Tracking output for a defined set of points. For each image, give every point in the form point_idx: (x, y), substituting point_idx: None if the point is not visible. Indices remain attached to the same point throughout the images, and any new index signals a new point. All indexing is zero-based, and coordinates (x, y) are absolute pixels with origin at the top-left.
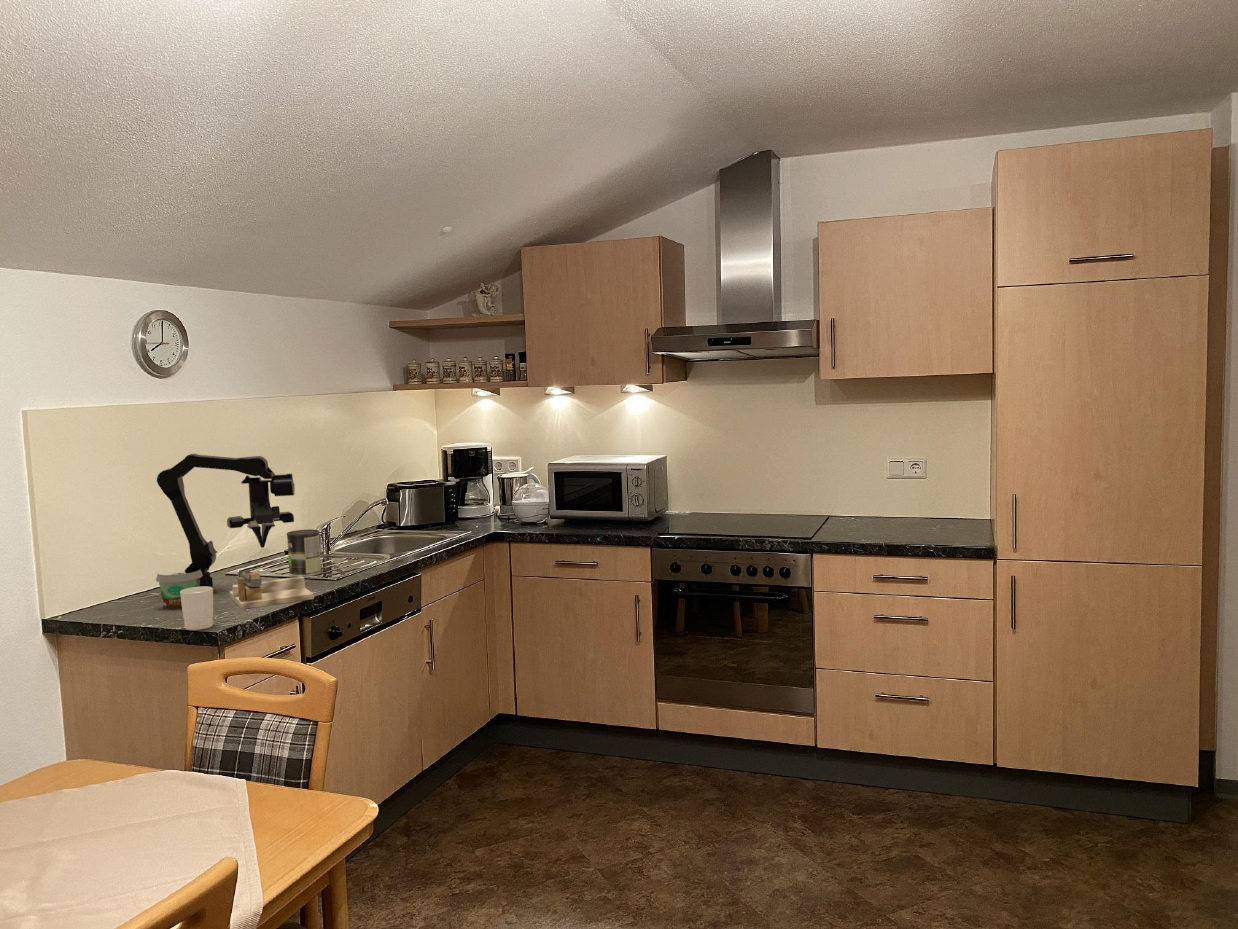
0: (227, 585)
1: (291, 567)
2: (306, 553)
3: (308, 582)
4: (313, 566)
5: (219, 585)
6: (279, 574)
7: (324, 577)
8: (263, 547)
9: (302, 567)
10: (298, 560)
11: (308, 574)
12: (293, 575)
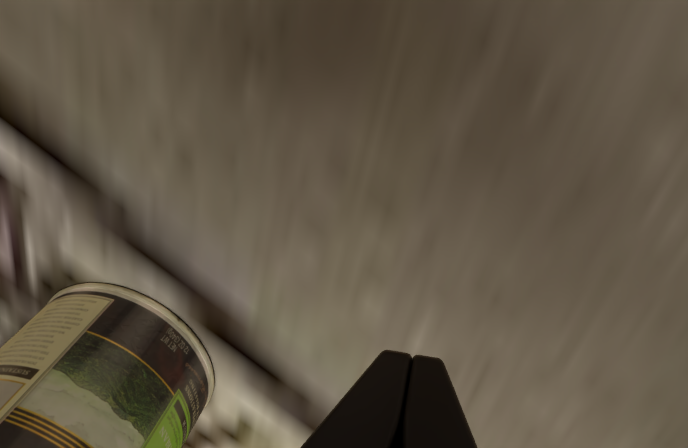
0: (622, 401)
1: (176, 390)
2: (3, 403)
3: (110, 95)
4: (40, 322)
5: (662, 435)
6: (261, 433)
7: (12, 181)
8: (398, 352)
9: (107, 336)
10: (99, 388)
11: (104, 291)
12: (192, 340)
